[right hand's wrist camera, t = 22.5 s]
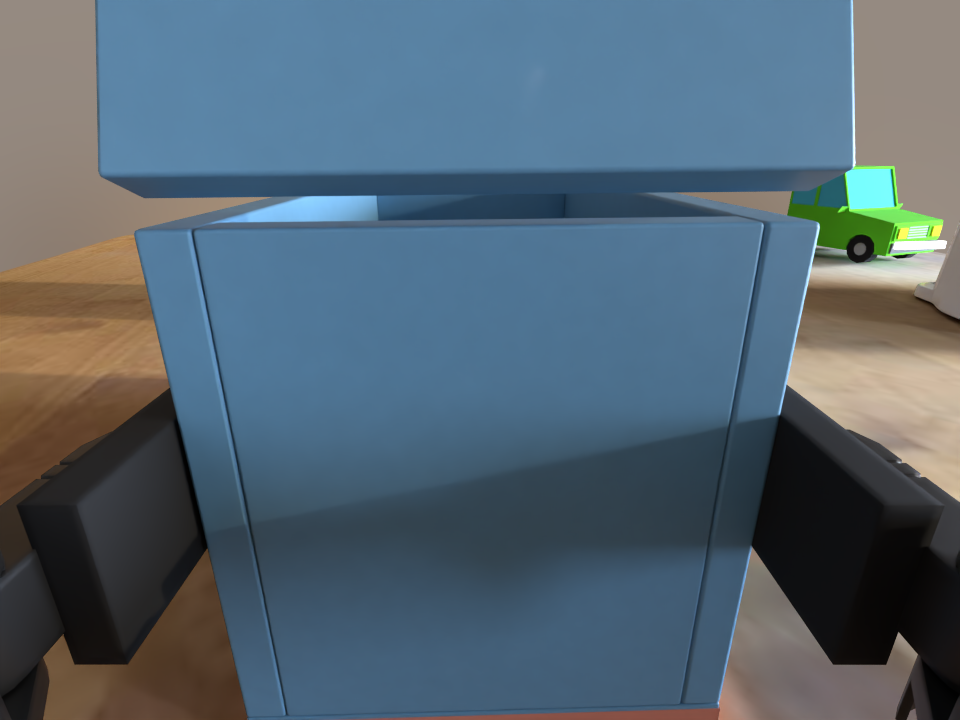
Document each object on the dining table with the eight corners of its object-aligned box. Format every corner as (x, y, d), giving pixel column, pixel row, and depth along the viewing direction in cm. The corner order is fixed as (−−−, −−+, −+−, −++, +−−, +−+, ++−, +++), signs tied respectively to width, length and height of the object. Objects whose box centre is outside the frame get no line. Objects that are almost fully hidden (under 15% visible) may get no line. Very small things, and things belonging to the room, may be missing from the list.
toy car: (878, 269, 57) (905, 169, 54) (774, 249, 69) (790, 166, 65) (941, 262, 61) (970, 167, 57) (832, 244, 72) (850, 165, 69)
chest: (377, 396, 28) (359, 176, 24) (569, 393, 28) (582, 173, 24) (251, 746, 12) (129, 230, 8) (715, 731, 12) (825, 221, 8)
